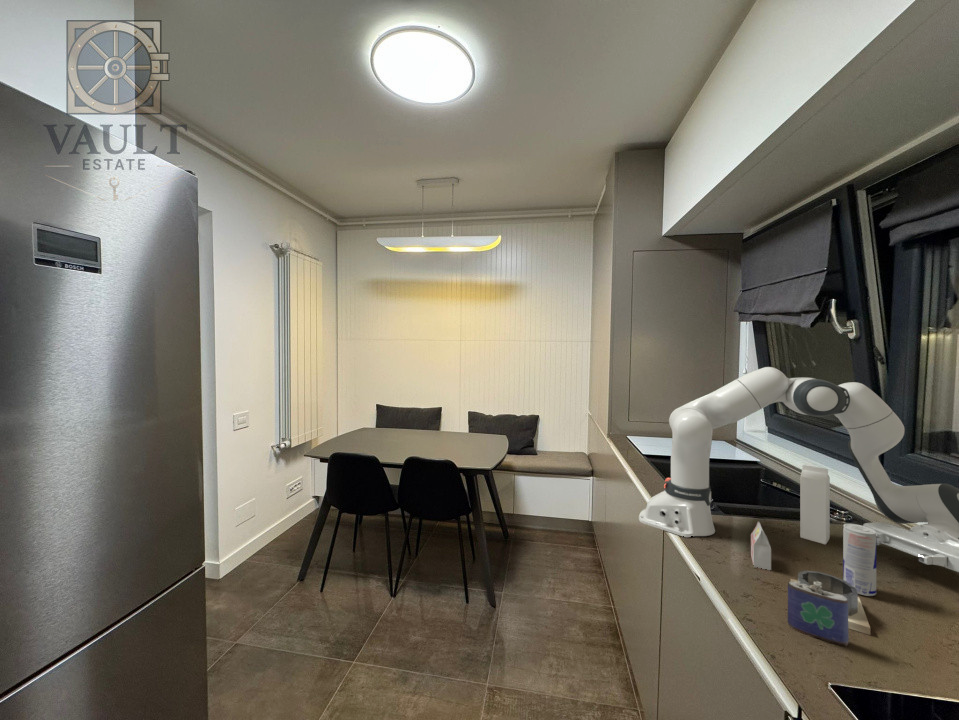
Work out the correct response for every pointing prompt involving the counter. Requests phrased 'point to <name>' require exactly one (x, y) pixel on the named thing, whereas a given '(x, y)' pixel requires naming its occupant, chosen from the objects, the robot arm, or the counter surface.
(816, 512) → the milk
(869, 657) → the counter surface
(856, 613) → the collar stand
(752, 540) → the small drink carton
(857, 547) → the beverage can
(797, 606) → the flask
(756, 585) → the counter surface
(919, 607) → the counter surface
